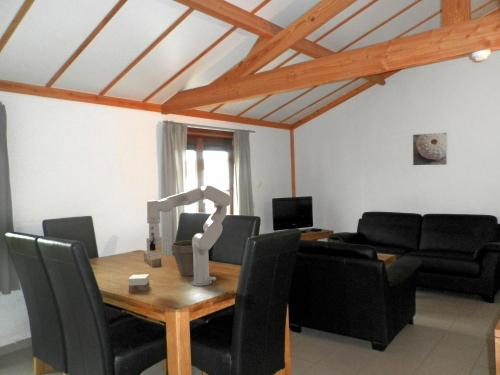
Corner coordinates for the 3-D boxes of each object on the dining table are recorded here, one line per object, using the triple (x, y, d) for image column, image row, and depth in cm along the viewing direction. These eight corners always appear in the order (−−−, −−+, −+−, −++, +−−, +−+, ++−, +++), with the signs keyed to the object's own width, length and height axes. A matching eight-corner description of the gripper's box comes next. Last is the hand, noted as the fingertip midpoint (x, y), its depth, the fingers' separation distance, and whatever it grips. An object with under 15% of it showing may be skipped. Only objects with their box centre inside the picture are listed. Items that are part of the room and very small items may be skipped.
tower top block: (149, 280, 246) (149, 274, 246) (145, 284, 237) (145, 278, 236) (132, 281, 246) (132, 274, 246) (128, 285, 236) (128, 278, 236)
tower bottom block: (149, 287, 247) (149, 280, 247) (145, 291, 237) (145, 284, 237) (132, 287, 246) (132, 281, 246) (128, 292, 236) (128, 285, 236)
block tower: (162, 267, 306) (153, 259, 332) (161, 256, 306) (152, 249, 332) (151, 268, 302) (143, 260, 328) (151, 257, 302) (143, 250, 328)
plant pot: (169, 278, 266) (168, 246, 265) (174, 270, 290) (173, 240, 290) (207, 277, 267) (206, 245, 267) (208, 268, 292) (208, 239, 291)
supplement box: (157, 257, 243) (157, 236, 243) (162, 258, 240) (162, 236, 240) (146, 259, 237) (146, 237, 236) (151, 260, 234) (151, 238, 233)
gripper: (157, 221, 229) (158, 251, 230) (162, 219, 247) (162, 246, 247) (144, 222, 229) (144, 251, 229) (149, 219, 246) (150, 246, 246)
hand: (154, 249), depth 238 cm, fingers closed on supplement box, 9 cm apart
